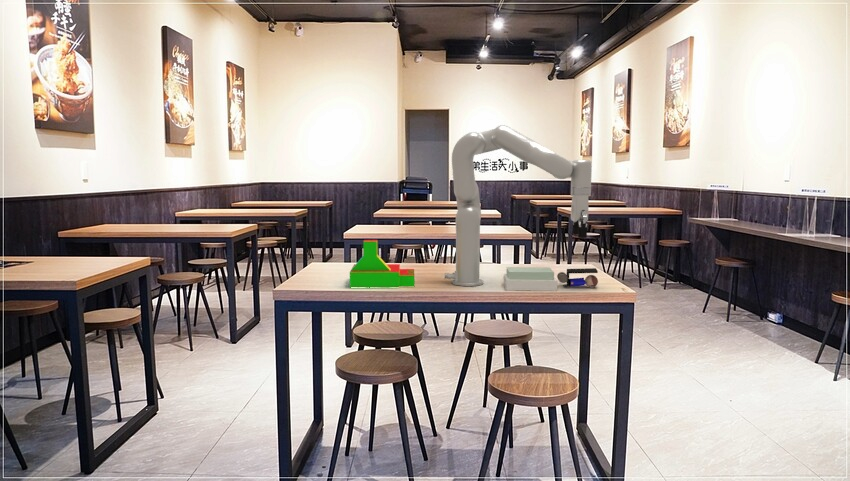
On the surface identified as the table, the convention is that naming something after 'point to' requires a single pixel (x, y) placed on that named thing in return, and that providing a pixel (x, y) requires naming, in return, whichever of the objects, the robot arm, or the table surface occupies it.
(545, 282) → the pale green stepped box
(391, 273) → the building blocks toy
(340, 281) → the table surface
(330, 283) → the table surface
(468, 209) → the robot arm
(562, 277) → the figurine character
